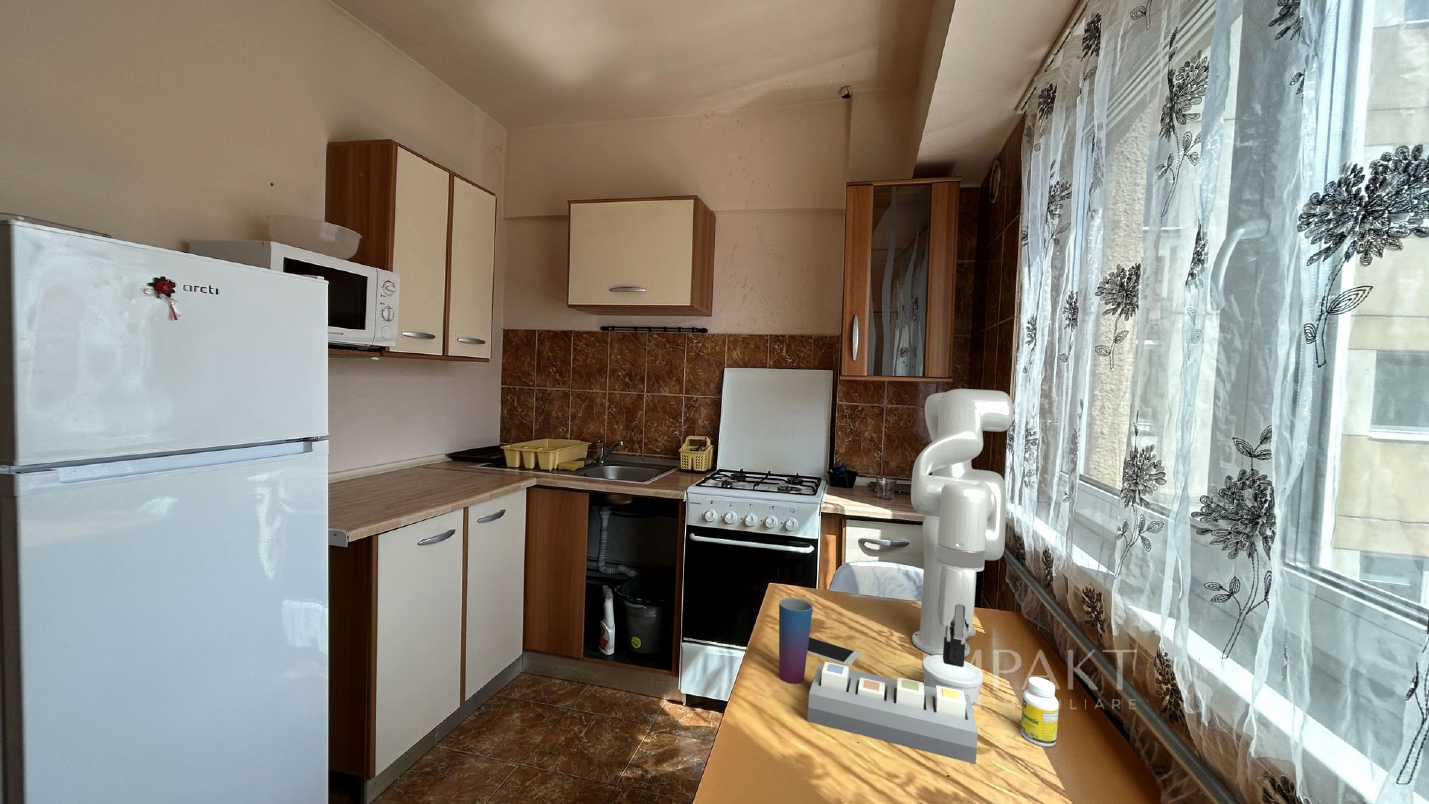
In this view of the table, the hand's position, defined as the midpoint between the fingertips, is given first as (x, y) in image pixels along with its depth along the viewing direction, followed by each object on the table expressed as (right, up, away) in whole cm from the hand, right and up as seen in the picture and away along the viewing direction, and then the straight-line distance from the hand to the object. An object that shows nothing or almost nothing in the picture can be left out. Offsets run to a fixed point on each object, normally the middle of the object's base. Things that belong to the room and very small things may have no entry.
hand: (953, 663), depth 95 cm
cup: (-25, -11, +17) cm, 33 cm away
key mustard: (0, -9, +1) cm, 9 cm away
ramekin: (+6, -13, +15) cm, 21 cm away
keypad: (-10, -12, +4) cm, 16 cm away
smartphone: (-16, -12, +31) cm, 37 cm away
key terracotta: (-13, -9, +5) cm, 17 cm away
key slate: (-19, -7, +7) cm, 21 cm away
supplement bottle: (+16, -14, +2) cm, 21 cm away
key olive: (-6, -8, +3) cm, 11 cm away
